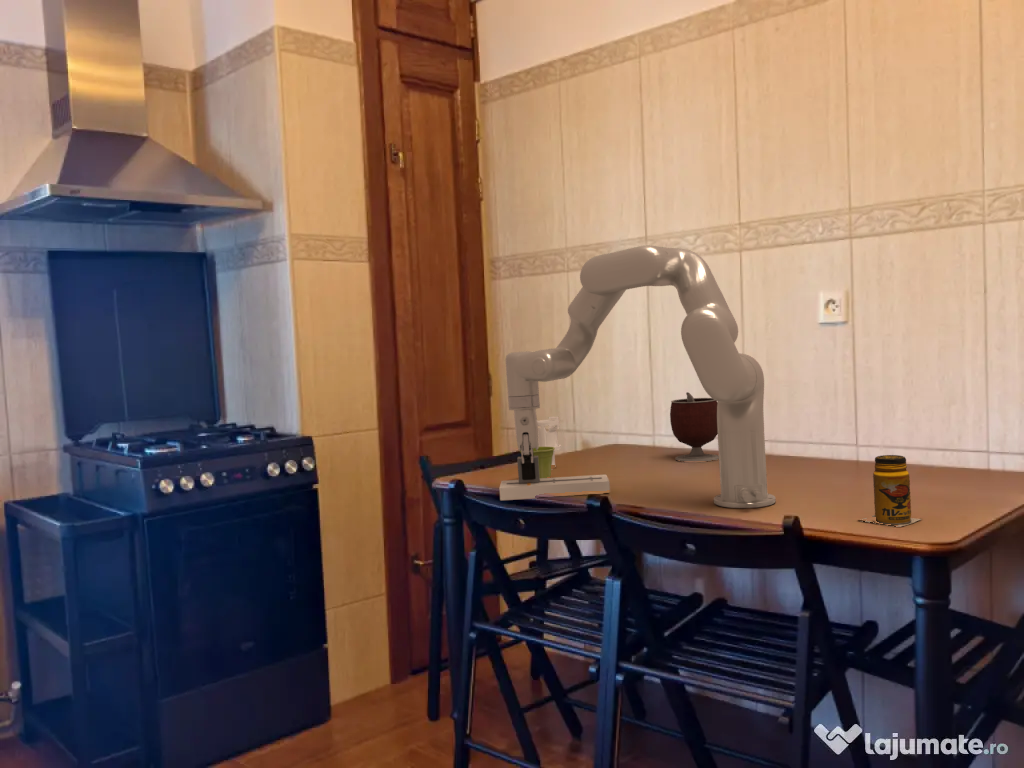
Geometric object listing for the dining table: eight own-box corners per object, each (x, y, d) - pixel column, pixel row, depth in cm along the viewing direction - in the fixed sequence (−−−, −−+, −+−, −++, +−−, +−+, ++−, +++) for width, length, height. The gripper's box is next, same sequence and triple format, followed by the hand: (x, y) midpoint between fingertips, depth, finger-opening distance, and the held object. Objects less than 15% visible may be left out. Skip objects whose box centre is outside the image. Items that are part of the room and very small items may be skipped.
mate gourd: (678, 455, 252) (674, 388, 251) (725, 455, 247) (721, 386, 245) (666, 464, 238) (662, 393, 237) (716, 463, 232) (712, 391, 231)
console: (610, 493, 199) (609, 480, 199) (500, 500, 201) (499, 487, 200) (607, 486, 209) (606, 474, 209) (502, 492, 211) (501, 480, 210)
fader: (539, 482, 203) (537, 457, 203) (518, 483, 204) (517, 458, 203) (539, 480, 207) (538, 455, 206) (519, 481, 207) (517, 456, 206)
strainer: (556, 470, 239) (553, 418, 238) (533, 470, 242) (530, 418, 242) (566, 466, 246) (562, 415, 245) (543, 466, 249) (540, 415, 248)
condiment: (900, 528, 150) (897, 460, 149) (856, 521, 157) (853, 457, 156) (922, 520, 154) (919, 455, 153) (878, 514, 161) (875, 452, 160)
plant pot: (527, 478, 230) (525, 446, 230) (561, 477, 227) (558, 445, 227) (516, 484, 221) (514, 451, 221) (551, 484, 218) (548, 450, 218)
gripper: (539, 404, 196) (544, 483, 197) (539, 399, 212) (544, 472, 213) (506, 406, 196) (512, 485, 197) (510, 401, 212) (515, 473, 213)
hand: (529, 477), depth 205 cm, fingers closed on fader, 3 cm apart
